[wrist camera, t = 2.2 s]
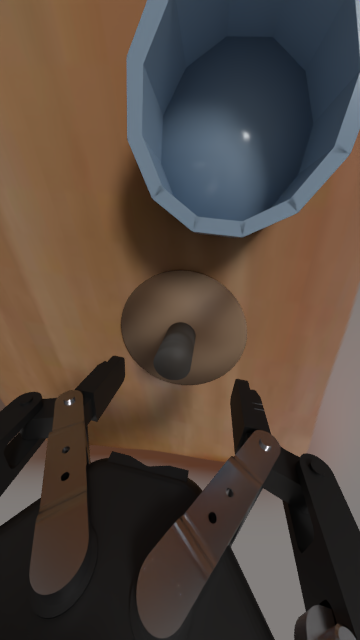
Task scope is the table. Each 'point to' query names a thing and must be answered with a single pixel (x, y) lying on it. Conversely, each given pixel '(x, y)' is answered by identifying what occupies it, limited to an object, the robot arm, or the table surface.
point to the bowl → (242, 106)
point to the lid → (184, 327)
